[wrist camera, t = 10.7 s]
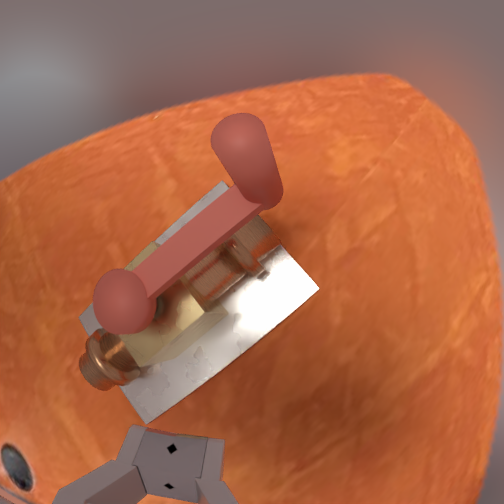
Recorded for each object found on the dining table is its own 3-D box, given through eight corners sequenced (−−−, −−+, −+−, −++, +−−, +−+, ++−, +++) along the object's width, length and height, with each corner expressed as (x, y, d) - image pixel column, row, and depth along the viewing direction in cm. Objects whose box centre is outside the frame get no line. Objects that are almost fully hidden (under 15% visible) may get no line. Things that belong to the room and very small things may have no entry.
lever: (124, 345, 21) (54, 351, 14) (97, 295, 22) (27, 285, 15) (300, 203, 20) (290, 148, 13) (258, 158, 21) (233, 95, 15)
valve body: (149, 422, 29) (98, 449, 20) (82, 317, 32) (24, 313, 24) (319, 289, 28) (320, 277, 19) (224, 183, 32) (191, 138, 23)
